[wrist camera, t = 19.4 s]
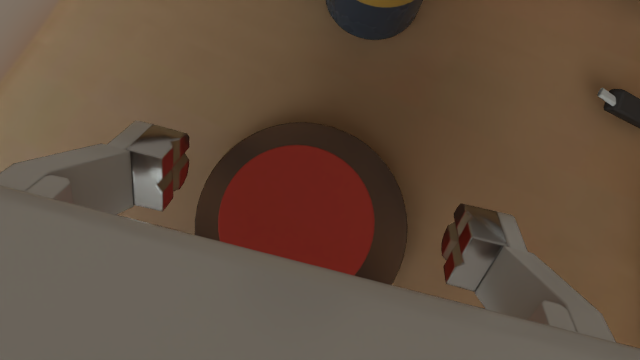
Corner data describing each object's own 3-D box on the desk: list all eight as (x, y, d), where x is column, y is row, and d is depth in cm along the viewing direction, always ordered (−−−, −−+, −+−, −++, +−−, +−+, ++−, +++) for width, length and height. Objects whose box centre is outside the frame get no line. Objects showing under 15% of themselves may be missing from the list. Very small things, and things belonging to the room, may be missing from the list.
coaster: (316, 379, 19) (316, 384, 19) (154, 239, 20) (148, 238, 19) (443, 211, 21) (449, 209, 20) (289, 88, 22) (289, 82, 21)
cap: (310, 316, 19) (312, 337, 14) (213, 239, 20) (183, 234, 15) (380, 219, 20) (406, 207, 15) (287, 148, 21) (282, 113, 16)
